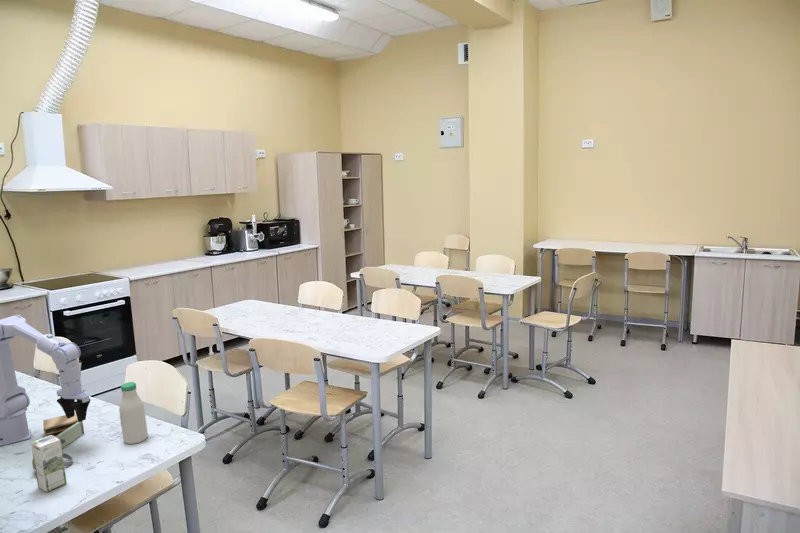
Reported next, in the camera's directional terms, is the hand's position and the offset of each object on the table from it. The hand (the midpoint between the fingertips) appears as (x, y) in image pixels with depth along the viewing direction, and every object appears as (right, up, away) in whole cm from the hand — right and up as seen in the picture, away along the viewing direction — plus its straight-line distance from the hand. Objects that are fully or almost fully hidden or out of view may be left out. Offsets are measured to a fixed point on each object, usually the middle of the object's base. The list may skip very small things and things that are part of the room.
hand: (76, 418), depth 194 cm
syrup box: (+5, -14, -22) cm, 27 cm away
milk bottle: (+18, -9, +5) cm, 20 cm away
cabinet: (-11, -8, +12) cm, 19 cm away
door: (-4, -9, +5) cm, 11 cm away
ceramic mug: (-1, -13, -11) cm, 16 cm away
